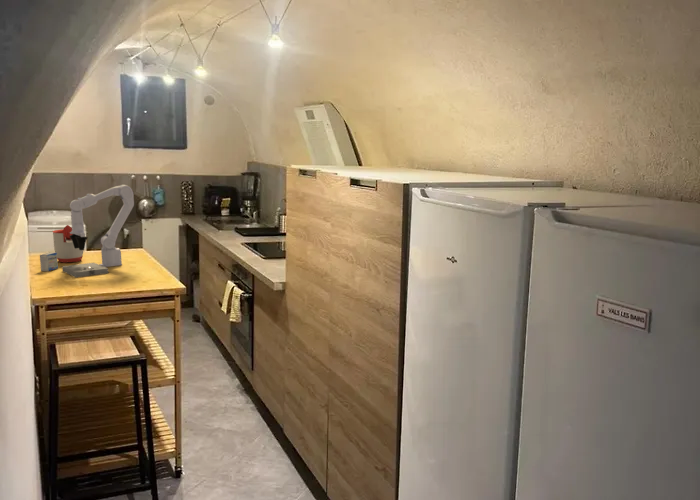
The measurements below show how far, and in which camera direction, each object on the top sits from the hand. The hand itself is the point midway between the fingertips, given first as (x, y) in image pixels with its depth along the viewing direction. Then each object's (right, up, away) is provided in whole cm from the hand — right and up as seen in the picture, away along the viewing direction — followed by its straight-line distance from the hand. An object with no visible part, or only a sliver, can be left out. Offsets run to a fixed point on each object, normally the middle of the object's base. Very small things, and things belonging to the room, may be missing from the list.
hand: (79, 249), depth 341 cm
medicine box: (-14, -11, -3) cm, 18 cm away
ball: (+10, -11, -13) cm, 20 cm away
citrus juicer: (-13, -7, +20) cm, 25 cm away
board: (+7, -12, -9) cm, 16 cm away
